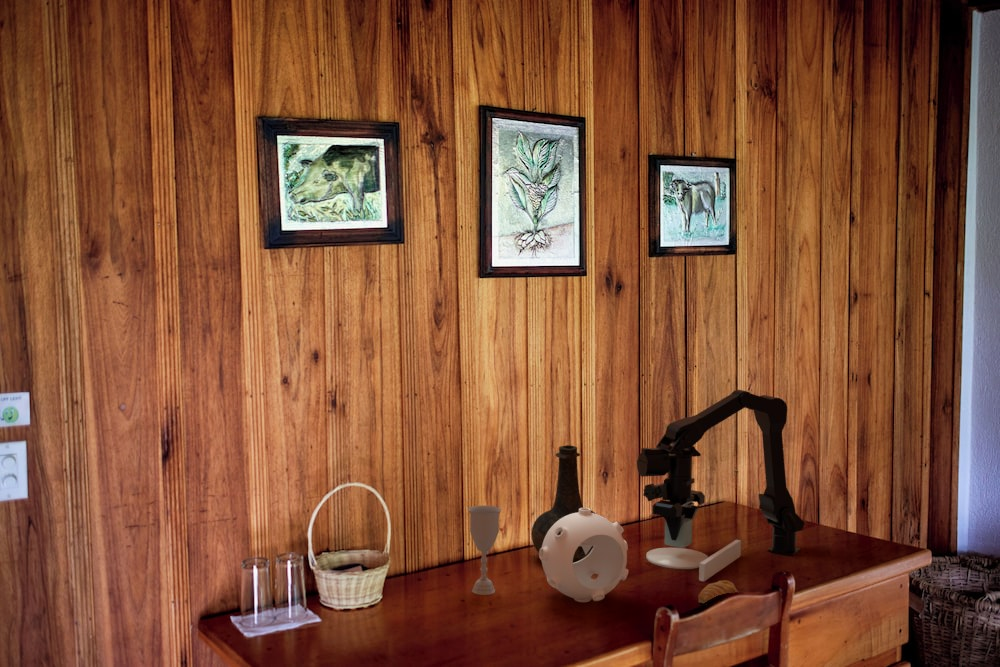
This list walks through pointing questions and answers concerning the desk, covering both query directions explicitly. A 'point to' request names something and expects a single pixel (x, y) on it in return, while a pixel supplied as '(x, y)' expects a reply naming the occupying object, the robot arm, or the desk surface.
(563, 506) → the glass bottle
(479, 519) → the chalice
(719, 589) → the pastry
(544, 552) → the decorative ball
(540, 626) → the desk surface
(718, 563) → the panel
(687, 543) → the block
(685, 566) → the plate
